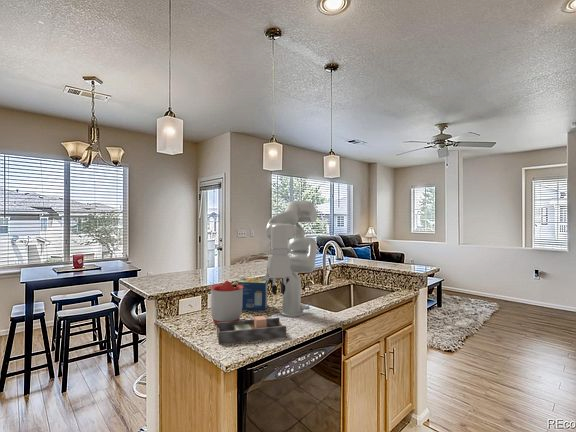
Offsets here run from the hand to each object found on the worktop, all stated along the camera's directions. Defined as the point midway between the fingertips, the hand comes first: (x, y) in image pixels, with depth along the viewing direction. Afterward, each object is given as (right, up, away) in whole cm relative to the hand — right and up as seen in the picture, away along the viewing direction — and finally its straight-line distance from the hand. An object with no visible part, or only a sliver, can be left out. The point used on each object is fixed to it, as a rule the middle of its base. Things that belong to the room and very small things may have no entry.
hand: (278, 293), depth 137 cm
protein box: (-16, -17, +36) cm, 43 cm away
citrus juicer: (-25, -17, +13) cm, 33 cm away
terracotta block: (-8, -14, -2) cm, 16 cm away
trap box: (-12, -17, -4) cm, 21 cm away
